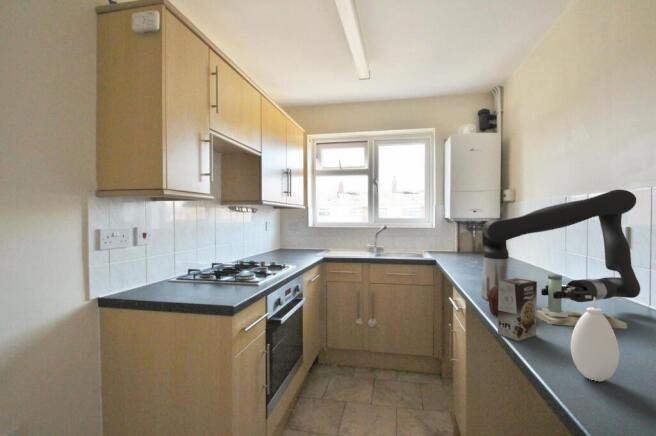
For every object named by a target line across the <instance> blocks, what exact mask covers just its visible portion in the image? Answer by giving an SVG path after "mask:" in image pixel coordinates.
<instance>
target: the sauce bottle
mask: <svg viewBox="0 0 656 436" xmlns="http://www.w3.org/2000/svg"><path fill="white" fill-rule="evenodd" d="M585 312H586V313H584V314H583V315H582V316H581V317H580V319H579V320H578V322H577V324H576V326H574V329H573V331H572V335H571V339H570V353H571V357H572V360H573V363H574V365H575V367H576V369H577V371H579V372H580V373H581V374H582V376H584V377H585V378H587V379H588V378H589V380H590V379H591V380H590V381H592V380H595V381H594V382H596V381H598V382H603V381H605V380H609V379H610V378H611V377H612V376H613V375H614V374H615V372H616V370H617V368H618V365H619V361H620V359H619V358H620V357H619V356H620V354H619V353H620V351H619V344H618V341H617V338H616V335H615V332H614V328H612V327H611V325H610V323H609V322H608V320H607V319H606V318H605V316H604V315H603V314H602V313H604V312H603V310H602V309H601V308H598V307H597V301H596V299H595V297H594V300H593V301H592V307H587V308H586V311H585Z"/></svg>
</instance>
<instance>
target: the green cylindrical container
mask: <svg viewBox="0 0 656 436" xmlns="http://www.w3.org/2000/svg"><path fill="white" fill-rule="evenodd" d="M547 279H548V280H547V281H548V283H547V285H548V295H547V297H548V298H547V302H548V303H547V308H546V307H542V308H541V310H542V311H543V312H545V313H547V314H548V315H550V316H557V317H568V314H567V313H565V312H566V311H564V312H563V310H562V298H561V299H555V298H553V293H554V292H557V291H562V285H563V284H562V283H563V281H562V280H563V276H562V275H561V274H552V273H551V274H548V275H547Z"/></svg>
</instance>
